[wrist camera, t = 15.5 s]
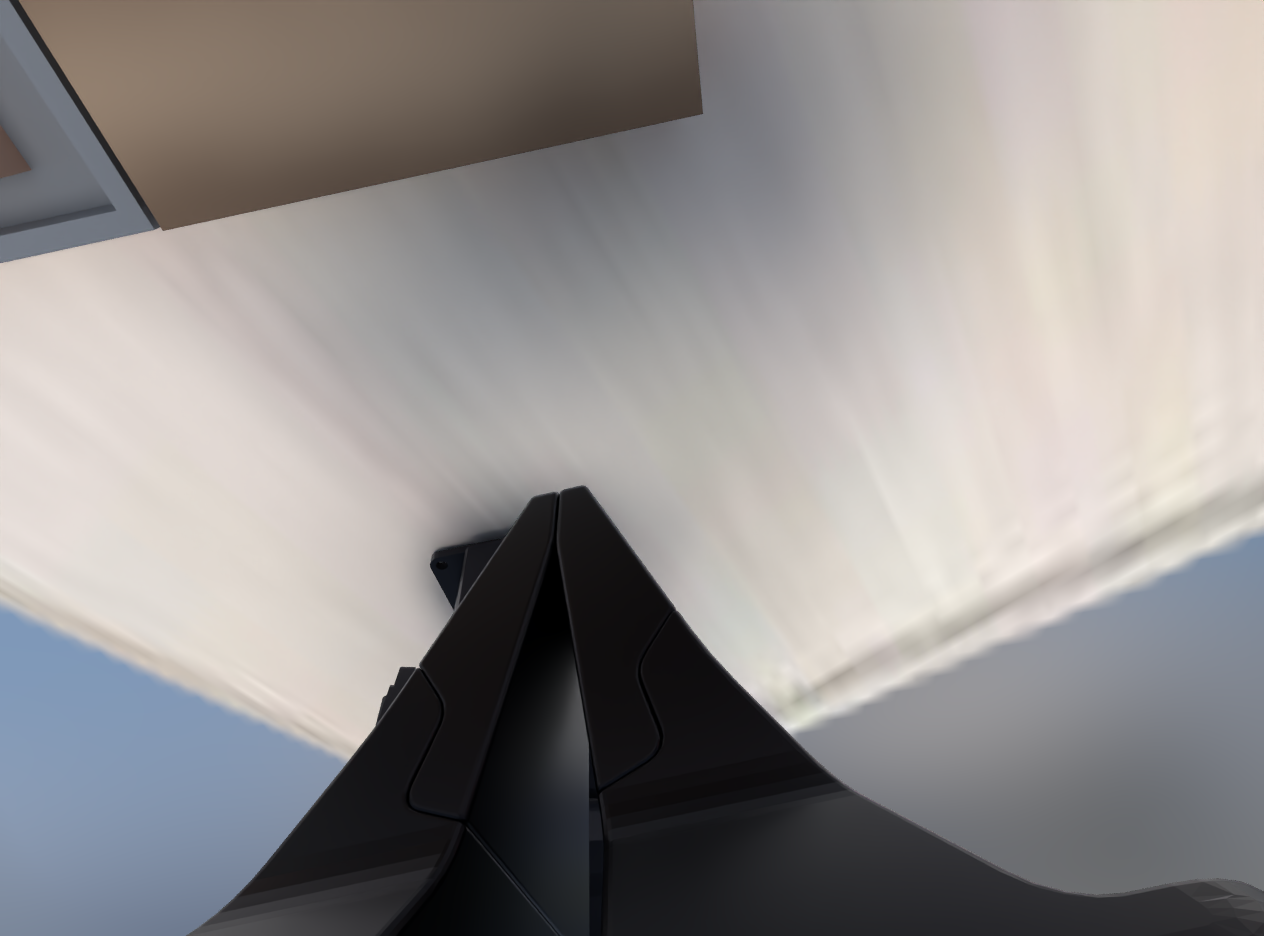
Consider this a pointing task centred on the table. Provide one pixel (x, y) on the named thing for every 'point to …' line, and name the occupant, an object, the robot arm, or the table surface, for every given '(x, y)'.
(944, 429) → the table surface
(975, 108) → the table surface
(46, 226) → the tray
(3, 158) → the terracotta tile
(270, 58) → the walnut board
